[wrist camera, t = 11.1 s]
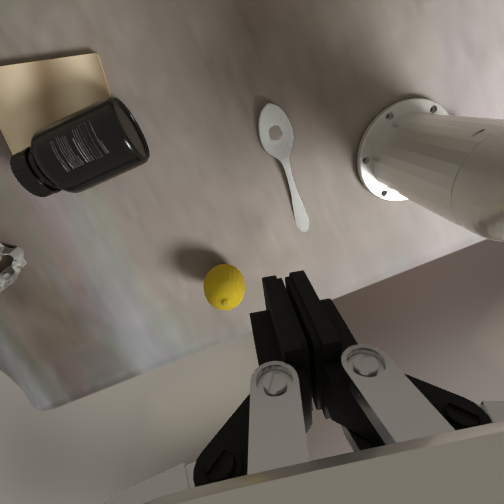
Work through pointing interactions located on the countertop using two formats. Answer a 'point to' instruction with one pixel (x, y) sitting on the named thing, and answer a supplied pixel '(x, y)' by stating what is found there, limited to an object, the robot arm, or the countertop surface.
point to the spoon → (282, 153)
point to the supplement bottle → (81, 150)
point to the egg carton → (12, 271)
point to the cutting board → (47, 94)
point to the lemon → (224, 287)
